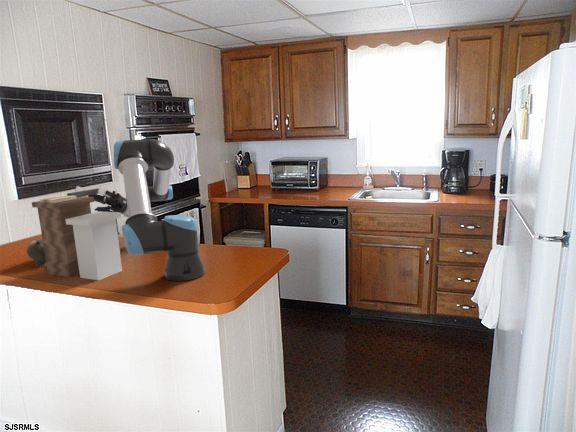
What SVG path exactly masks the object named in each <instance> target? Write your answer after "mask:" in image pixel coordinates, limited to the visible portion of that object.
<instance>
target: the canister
mask: <svg viewBox="0 0 576 432" xmlns="http://www.w3.org/2000/svg"><path fill="white" fill-rule="evenodd" d="M99 211H101V212H116V211H114V210H112V208H111V206H110V205H107V206H97V207H95V208H94V212H99ZM116 225H117V233H118V236H119V235H120V232H119V226H118V218H117V219H116Z"/></svg>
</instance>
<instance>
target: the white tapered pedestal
mask: <svg viewBox="0 0 576 432" xmlns="http://www.w3.org/2000/svg"><path fill="white" fill-rule="evenodd" d="M121 218H122V214H121V213H120V212H101V211H99V212H98V211H94V212H91V213H90V214H86V215H81V216H77V217H73V218H69V219H65V220H66V224H68V225H73V231H74V238H75V245H76V252H77V258H78V265H79V272H80V274H79V277H80V279H86V280H92V281H100V280H101V281H102V280H103V279H106V278H108V277H110V276H113V275H115V274H118V273H120V272H123V267H122V266H123V265H122V257H121V249H120V242H119V235H118V233H117V225H118V224H117V225H116V219H117V220H118V219H121Z"/></svg>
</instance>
